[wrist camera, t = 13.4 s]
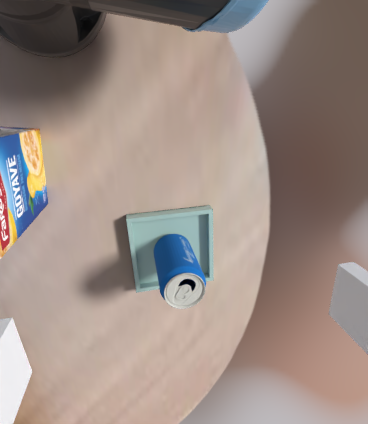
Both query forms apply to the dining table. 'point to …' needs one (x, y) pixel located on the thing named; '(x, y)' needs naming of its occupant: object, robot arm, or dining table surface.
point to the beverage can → (178, 272)
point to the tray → (163, 225)
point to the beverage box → (20, 182)
